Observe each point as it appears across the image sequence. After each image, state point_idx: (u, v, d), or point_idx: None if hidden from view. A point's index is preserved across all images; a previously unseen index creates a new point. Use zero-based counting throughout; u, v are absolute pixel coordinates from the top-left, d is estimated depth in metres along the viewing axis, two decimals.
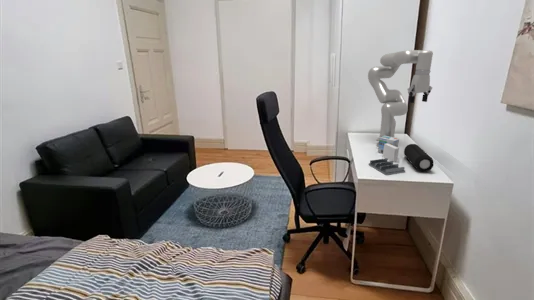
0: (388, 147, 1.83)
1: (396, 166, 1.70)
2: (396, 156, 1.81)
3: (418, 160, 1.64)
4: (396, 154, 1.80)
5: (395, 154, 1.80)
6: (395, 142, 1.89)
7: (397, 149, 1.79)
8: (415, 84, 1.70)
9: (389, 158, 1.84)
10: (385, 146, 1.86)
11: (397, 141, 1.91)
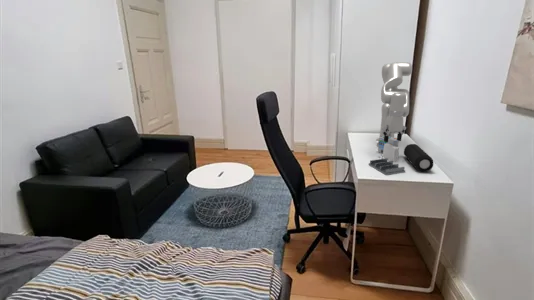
0: (388, 147, 1.83)
1: (396, 166, 1.70)
2: (396, 156, 1.81)
3: (418, 160, 1.64)
4: (396, 154, 1.80)
5: (395, 154, 1.80)
6: (395, 142, 1.89)
7: (397, 149, 1.79)
8: (389, 125, 1.76)
9: (389, 158, 1.84)
10: (385, 146, 1.86)
11: (397, 141, 1.91)
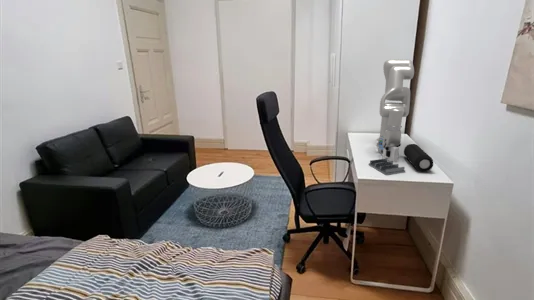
0: None
1: (396, 166, 1.70)
2: (396, 156, 1.81)
3: (418, 160, 1.64)
4: (396, 154, 1.80)
5: (395, 154, 1.80)
6: None
7: (397, 149, 1.79)
8: (387, 139, 1.79)
9: (389, 158, 1.84)
10: None
11: None
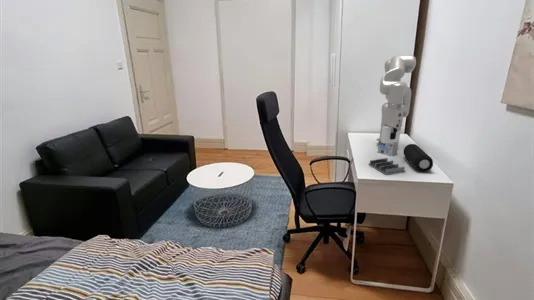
0: None
1: (396, 166, 1.70)
2: (383, 136, 1.63)
3: (418, 160, 1.65)
4: (383, 134, 1.63)
5: (382, 133, 1.64)
6: (395, 142, 1.89)
7: (384, 128, 1.62)
8: None
9: None
10: None
11: None
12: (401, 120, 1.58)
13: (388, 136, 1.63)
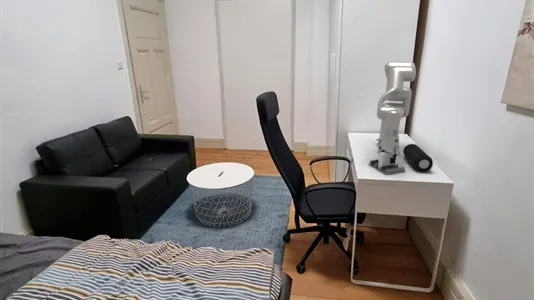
0: None
1: (396, 166, 1.70)
2: (380, 162, 1.69)
3: (417, 160, 1.65)
4: (380, 160, 1.69)
5: (379, 159, 1.69)
6: None
7: (381, 154, 1.67)
8: None
9: None
10: None
11: None
12: (397, 146, 1.63)
13: (385, 162, 1.68)
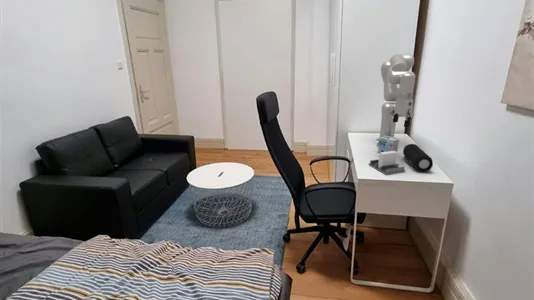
0: None
1: (396, 166, 1.70)
2: (380, 162, 1.69)
3: (417, 160, 1.65)
4: (380, 160, 1.69)
5: (379, 159, 1.69)
6: (395, 142, 1.89)
7: (381, 154, 1.67)
8: None
9: None
10: None
11: (397, 141, 1.91)
12: (411, 109, 1.65)
13: (385, 162, 1.68)
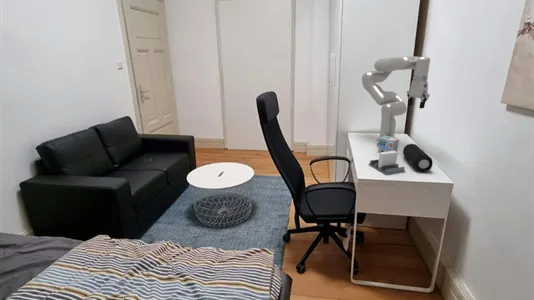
0: None
1: (396, 166, 1.70)
2: (380, 162, 1.69)
3: (417, 160, 1.65)
4: (380, 160, 1.69)
5: (379, 159, 1.69)
6: (395, 142, 1.89)
7: (381, 154, 1.67)
8: None
9: None
10: None
11: (397, 141, 1.91)
12: (426, 91, 1.74)
13: (385, 162, 1.68)
